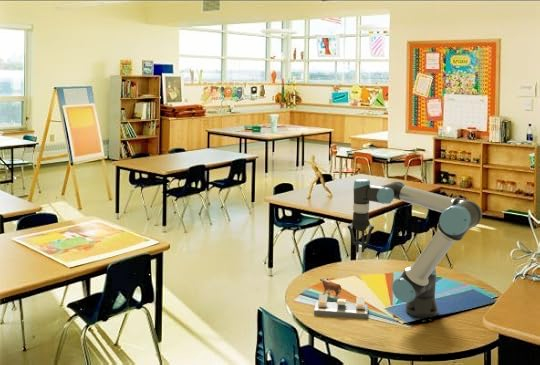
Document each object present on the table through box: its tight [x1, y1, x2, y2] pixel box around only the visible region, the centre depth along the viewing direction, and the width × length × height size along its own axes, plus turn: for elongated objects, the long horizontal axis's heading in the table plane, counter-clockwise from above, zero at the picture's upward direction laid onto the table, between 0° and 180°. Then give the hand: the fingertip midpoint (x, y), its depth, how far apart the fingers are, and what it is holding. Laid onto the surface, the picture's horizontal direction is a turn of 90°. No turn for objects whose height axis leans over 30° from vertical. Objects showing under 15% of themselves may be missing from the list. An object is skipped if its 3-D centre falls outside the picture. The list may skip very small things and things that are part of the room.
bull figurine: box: [319, 277, 342, 299], centre depth 304 cm, size 4×13×8 cm, turn 42°
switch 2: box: [355, 296, 366, 309], centre depth 283 cm, size 4×7×1 cm, turn 170°
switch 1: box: [317, 293, 329, 307], centre depth 286 cm, size 4×7×1 cm
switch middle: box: [336, 298, 347, 305], centre depth 284 cm, size 4×7×1 cm, turn 170°
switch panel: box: [313, 300, 369, 319], centre depth 284 cm, size 25×12×4 cm, turn 80°
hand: (359, 258), depth 286 cm, fingers closed
